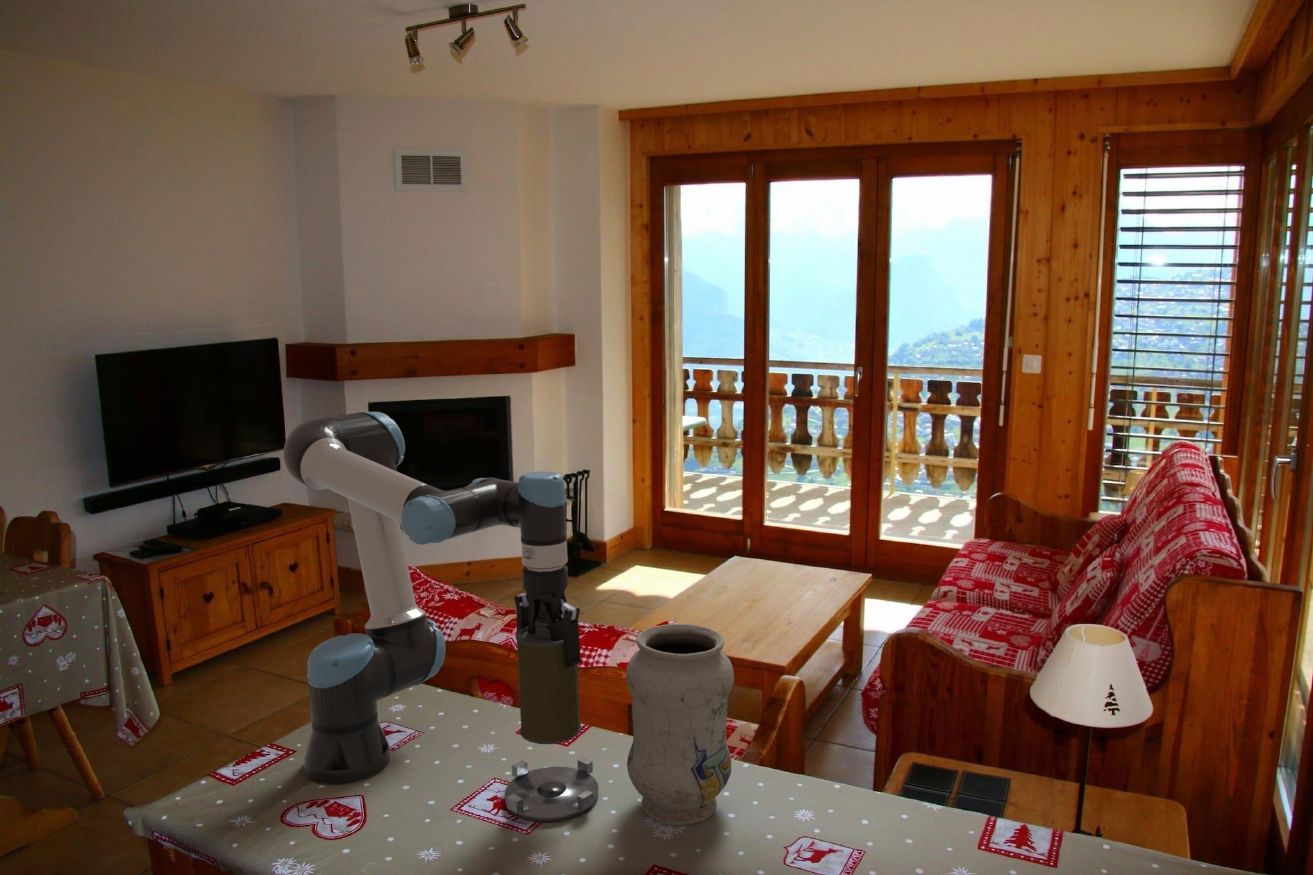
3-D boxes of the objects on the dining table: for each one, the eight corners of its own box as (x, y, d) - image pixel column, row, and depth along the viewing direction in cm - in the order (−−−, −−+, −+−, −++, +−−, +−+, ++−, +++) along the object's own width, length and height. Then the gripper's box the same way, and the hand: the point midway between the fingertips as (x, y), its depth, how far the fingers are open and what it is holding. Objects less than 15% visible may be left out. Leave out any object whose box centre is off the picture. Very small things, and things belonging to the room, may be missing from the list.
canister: (571, 746, 157) (567, 629, 154) (511, 742, 159) (505, 626, 156) (589, 718, 167) (585, 608, 164) (532, 714, 169) (527, 605, 166)
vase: (749, 791, 166) (749, 626, 161) (711, 846, 150) (710, 664, 145) (655, 771, 174) (653, 612, 169) (609, 820, 157) (605, 647, 153)
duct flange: (478, 801, 164) (477, 782, 164) (554, 762, 177) (553, 744, 177) (549, 838, 153) (548, 818, 152) (624, 793, 166) (624, 774, 165)
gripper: (490, 561, 162) (496, 691, 165) (568, 580, 150) (572, 720, 153) (524, 551, 168) (529, 677, 171) (601, 569, 155) (605, 704, 159)
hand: (549, 697), depth 162 cm, fingers open, 6 cm apart
